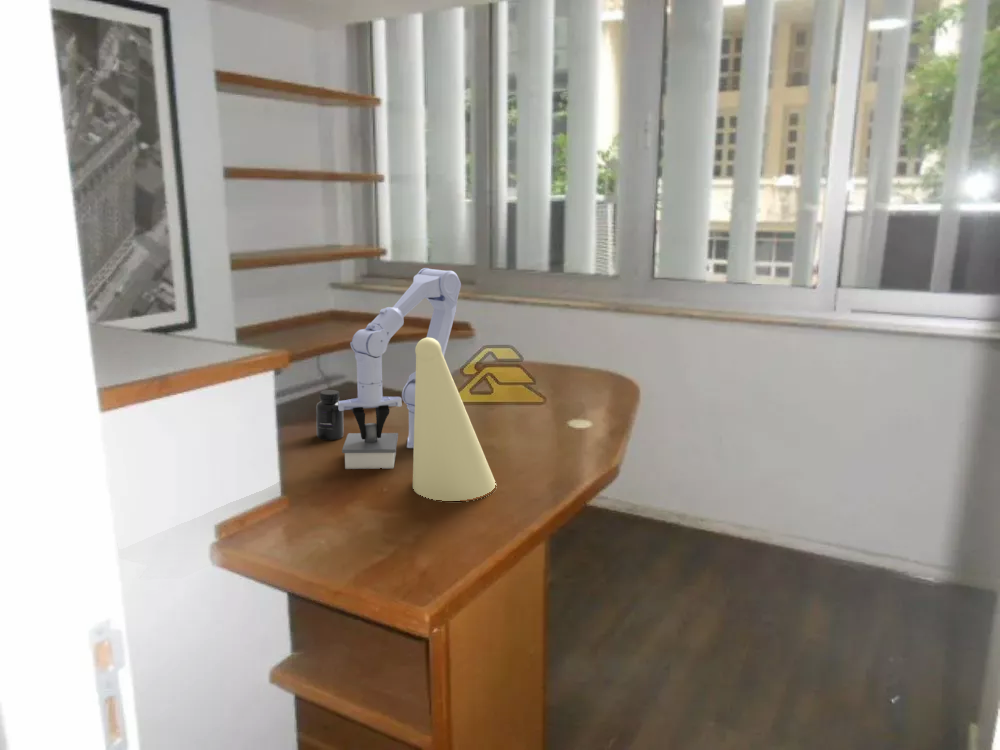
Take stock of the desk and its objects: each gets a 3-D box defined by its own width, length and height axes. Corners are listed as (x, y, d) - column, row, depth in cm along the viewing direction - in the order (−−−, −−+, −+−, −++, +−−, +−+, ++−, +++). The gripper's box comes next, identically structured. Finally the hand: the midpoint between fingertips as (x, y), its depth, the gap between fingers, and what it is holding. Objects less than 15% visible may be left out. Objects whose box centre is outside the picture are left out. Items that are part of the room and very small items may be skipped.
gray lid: (398, 436, 184) (397, 417, 183) (395, 452, 172) (395, 432, 171) (348, 436, 183) (347, 417, 182) (342, 453, 171) (341, 432, 170)
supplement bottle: (320, 442, 190) (318, 396, 188) (314, 434, 196) (312, 390, 193) (347, 438, 194) (346, 393, 191) (339, 431, 199) (338, 387, 197)
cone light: (435, 465, 176) (435, 317, 168) (508, 477, 169) (512, 324, 161) (381, 504, 154) (378, 335, 145) (463, 519, 147) (465, 344, 139)
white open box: (396, 452, 184) (395, 436, 183) (393, 468, 174) (393, 451, 173) (350, 452, 183) (350, 437, 182) (345, 468, 173) (344, 452, 172)
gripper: (397, 375, 180) (397, 429, 183) (335, 379, 175) (337, 434, 178) (403, 382, 174) (404, 438, 177) (339, 386, 169) (341, 444, 172)
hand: (370, 437), depth 177 cm, fingers closed on gray lid, 3 cm apart
